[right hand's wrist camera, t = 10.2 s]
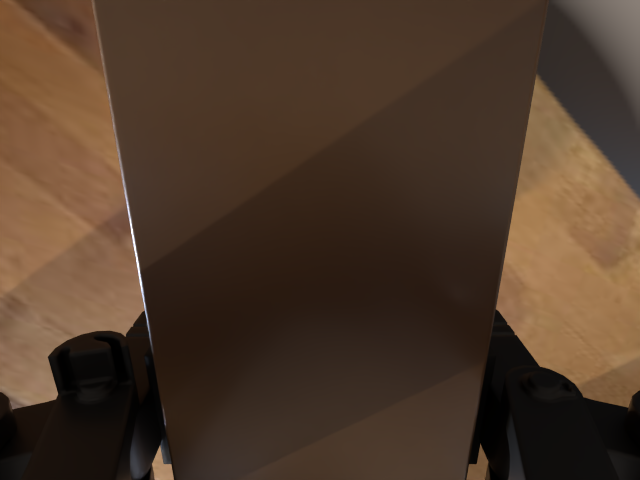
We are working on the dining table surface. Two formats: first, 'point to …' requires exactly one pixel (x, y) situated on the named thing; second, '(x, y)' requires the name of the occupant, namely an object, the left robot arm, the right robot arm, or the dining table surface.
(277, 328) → the beam
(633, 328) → the dining table surface
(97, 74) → the dining table surface
